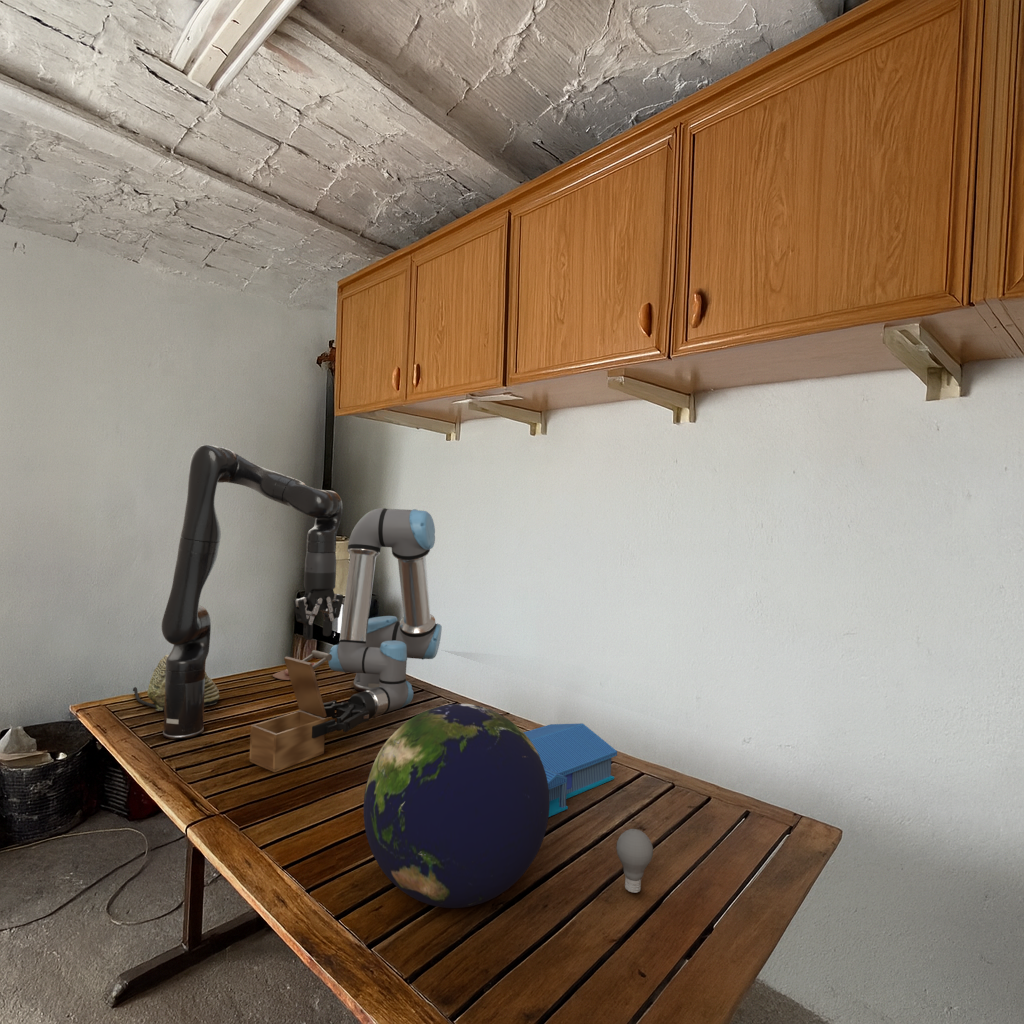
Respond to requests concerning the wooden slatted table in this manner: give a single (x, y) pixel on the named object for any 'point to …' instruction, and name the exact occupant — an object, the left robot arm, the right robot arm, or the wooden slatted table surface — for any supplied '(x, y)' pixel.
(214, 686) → the fossil
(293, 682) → the lid
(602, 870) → the wooden slatted table surface
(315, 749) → the chest
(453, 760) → the globe
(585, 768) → the model building
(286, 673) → the anatomical model
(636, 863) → the light bulb
